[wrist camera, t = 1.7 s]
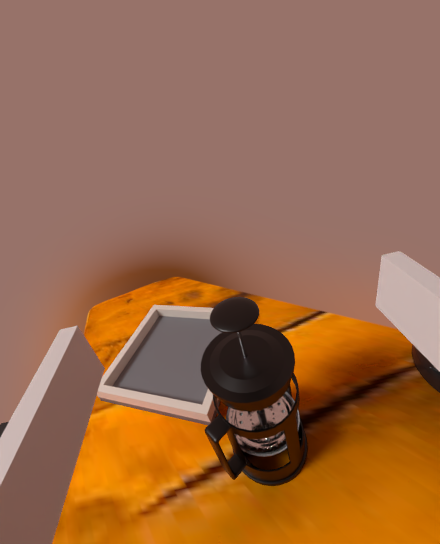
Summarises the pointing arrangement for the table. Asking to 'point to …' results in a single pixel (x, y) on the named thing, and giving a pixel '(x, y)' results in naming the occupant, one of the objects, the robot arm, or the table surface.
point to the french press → (253, 393)
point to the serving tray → (164, 365)
